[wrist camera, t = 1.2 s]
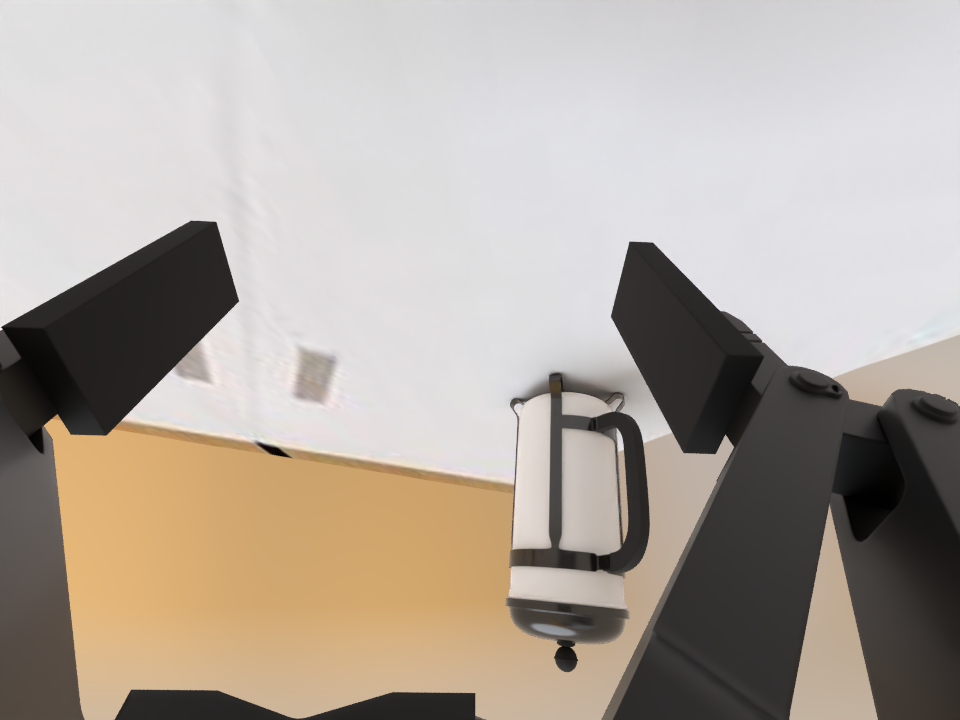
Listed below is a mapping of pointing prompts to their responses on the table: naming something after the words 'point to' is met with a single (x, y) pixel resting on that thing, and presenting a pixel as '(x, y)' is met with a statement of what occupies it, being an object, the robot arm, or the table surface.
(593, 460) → the coffee press
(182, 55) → the table surface
